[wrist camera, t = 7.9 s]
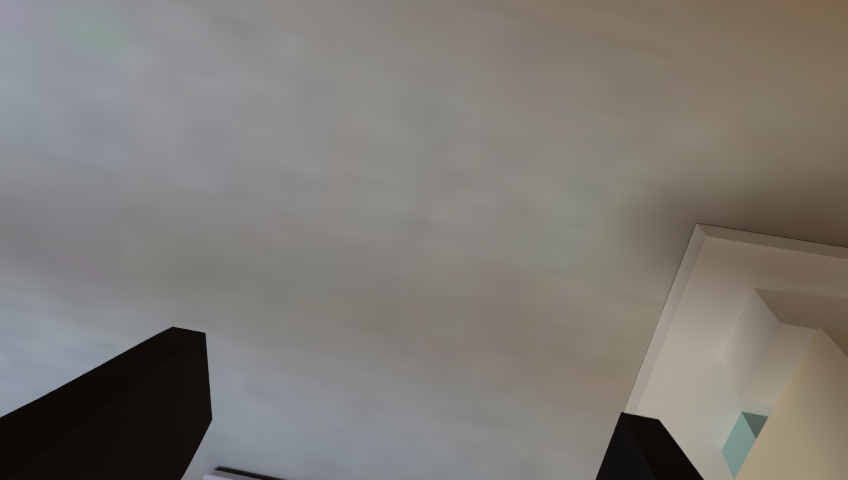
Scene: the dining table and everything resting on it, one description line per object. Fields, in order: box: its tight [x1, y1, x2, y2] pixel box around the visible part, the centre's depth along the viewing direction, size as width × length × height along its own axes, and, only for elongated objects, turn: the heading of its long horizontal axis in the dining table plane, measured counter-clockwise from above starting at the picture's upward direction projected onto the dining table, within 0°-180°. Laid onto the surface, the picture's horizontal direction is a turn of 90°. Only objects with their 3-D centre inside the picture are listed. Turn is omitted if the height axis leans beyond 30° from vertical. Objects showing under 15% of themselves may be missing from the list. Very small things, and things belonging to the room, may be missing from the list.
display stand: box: [624, 223, 848, 480], centre depth 19 cm, size 15×10×3 cm, turn 173°
